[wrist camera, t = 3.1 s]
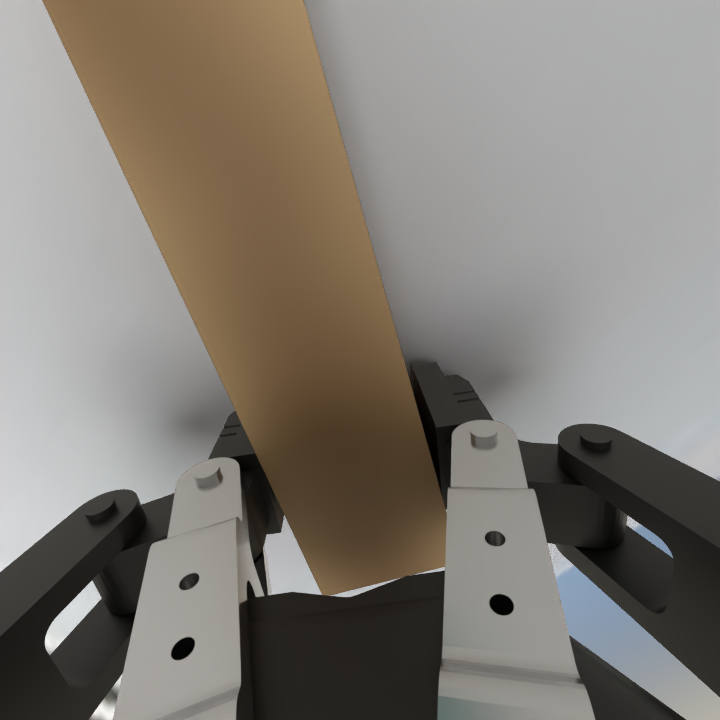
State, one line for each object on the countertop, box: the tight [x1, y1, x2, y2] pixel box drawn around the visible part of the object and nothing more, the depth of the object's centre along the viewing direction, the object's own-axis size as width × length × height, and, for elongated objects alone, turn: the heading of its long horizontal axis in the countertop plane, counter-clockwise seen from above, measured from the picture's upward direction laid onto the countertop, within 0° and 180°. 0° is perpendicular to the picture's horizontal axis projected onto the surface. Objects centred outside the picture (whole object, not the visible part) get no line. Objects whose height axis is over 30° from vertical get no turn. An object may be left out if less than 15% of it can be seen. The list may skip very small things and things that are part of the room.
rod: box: [42, 0, 447, 596], centre depth 9 cm, size 4×17×4 cm, turn 17°
